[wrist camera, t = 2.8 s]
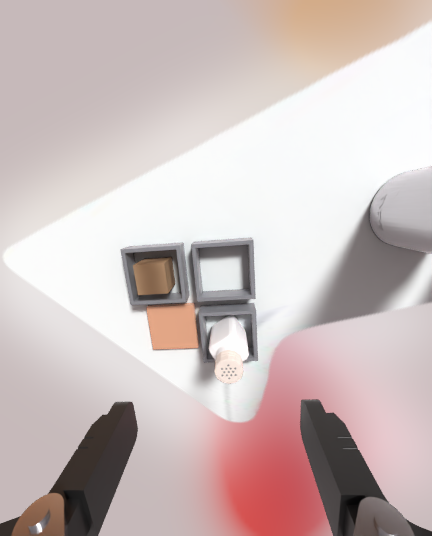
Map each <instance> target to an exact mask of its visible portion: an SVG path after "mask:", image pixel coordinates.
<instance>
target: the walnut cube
mask: <svg viewBox="0 0 432 536" xmlns="http://www.w3.org/2000/svg"><path fill="white" fill-rule="evenodd" d="M133 269H134V275H135V280H136V286H137V292H138V295H150V294H166V293H169V292H170V290H171V289H172V288H173V286H174V285H175V278H174V270H173V263H172V257H162V258H148V259H143V260H141V261H139V262H138V263H136V264H134V265H133Z"/></svg>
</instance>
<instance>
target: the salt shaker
mask: <svg viewBox="0 0 432 536" xmlns="http://www.w3.org/2000/svg"><path fill="white" fill-rule="evenodd" d="M209 351H210V353H211V355H212V356H213V358H214V359H215V370H214V372H215V375H216V377H217V379H219V380H220V381H221V382H223V383H228V384H231V383H235V382H237V381H238V380H240V379H241V378H242V375H243V361H245V360H246V359H247V358H248V356H249V352H248V345H247V338H246V331H245V330H244V328H243V327H242V326H241V324H240V323H239V321H238V320H237V319H236V317H235V316H234V315H229V316H227V317H225V318H224V319H222V320H220V321H219V322H217V323H216V324H214V325H213V326H212V329H211V336H210V343H209Z"/></svg>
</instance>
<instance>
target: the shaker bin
mask: <svg viewBox="0 0 432 536" xmlns="http://www.w3.org/2000/svg"><path fill="white" fill-rule="evenodd" d="M243 314H251V326H252V348H248V352H249V356H248V358H247V359H246V360H245V361H258V351H257V325H256V309H255V305H254V303H245V304H226V305H206V306H201V307H200V310H199V322H200V332H201V341H202V351H203V360H204V362H215V359H214V358H213V356H212V355H211V353H210V351H209V349H208V340H207V330H206V320H205V316H222V315H243Z"/></svg>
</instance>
